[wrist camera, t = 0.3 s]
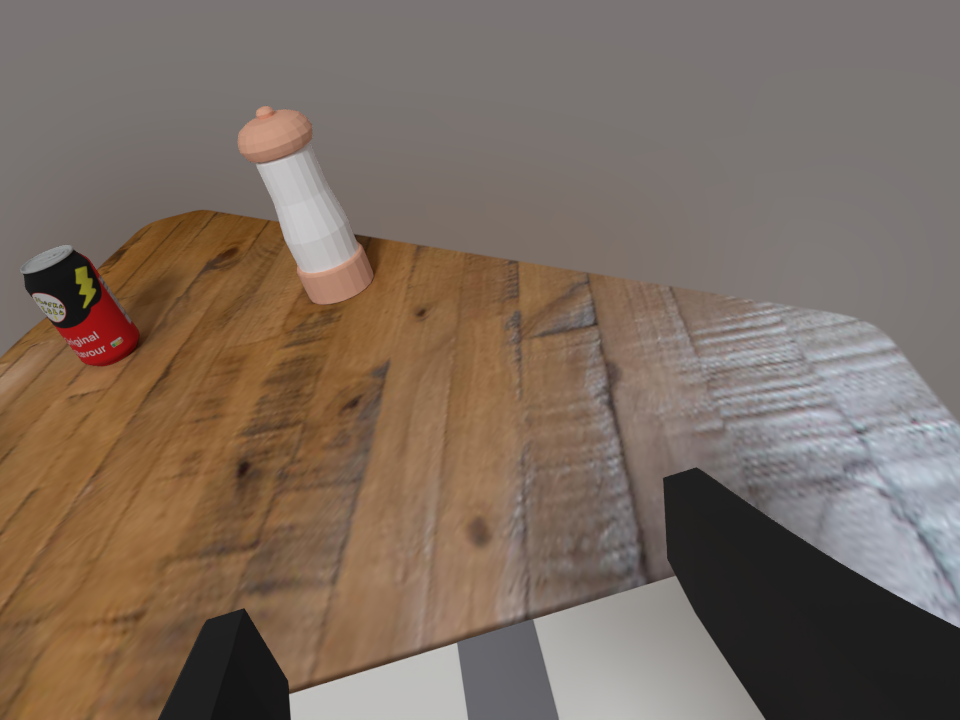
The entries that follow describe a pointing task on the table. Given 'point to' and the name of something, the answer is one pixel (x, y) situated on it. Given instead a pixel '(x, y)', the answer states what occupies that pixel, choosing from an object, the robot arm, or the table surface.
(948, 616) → the table surface
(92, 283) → the beverage can
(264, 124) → the pepper shaker
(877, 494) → the table surface
